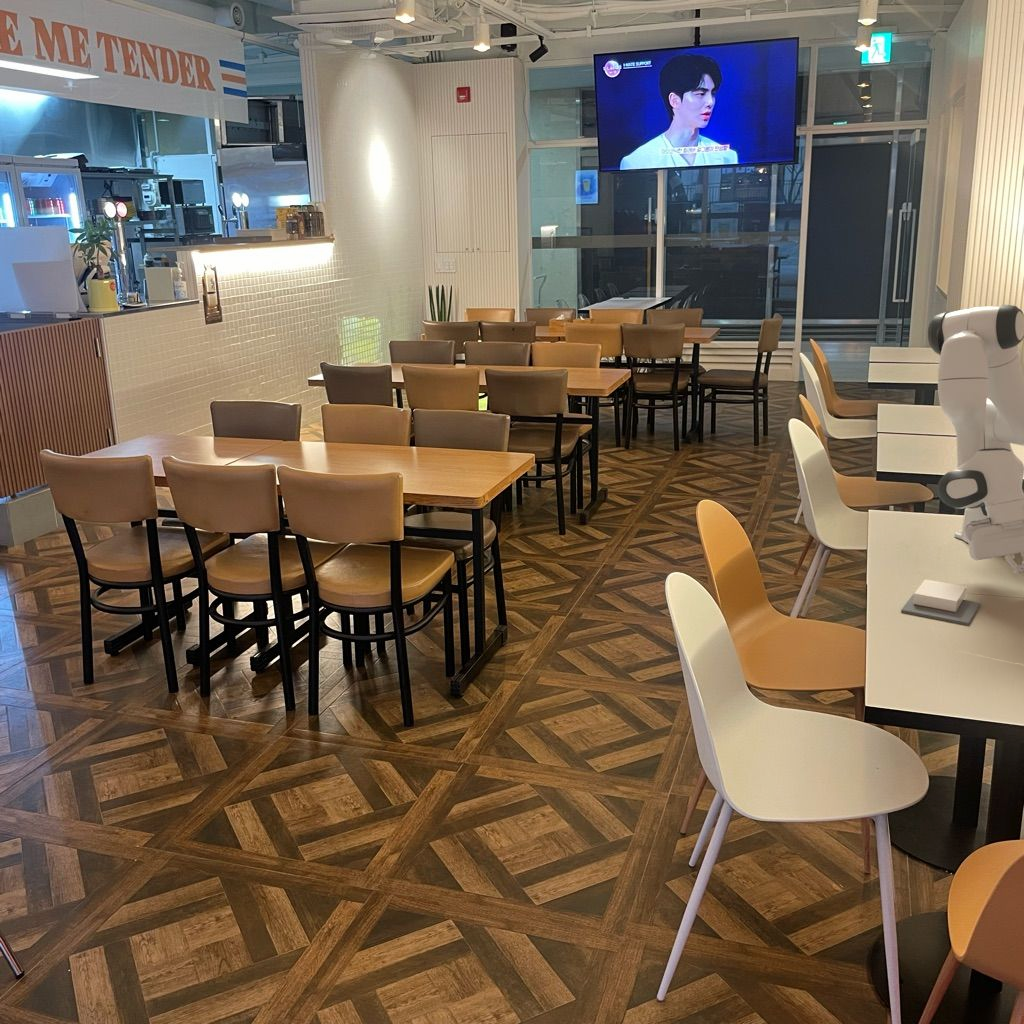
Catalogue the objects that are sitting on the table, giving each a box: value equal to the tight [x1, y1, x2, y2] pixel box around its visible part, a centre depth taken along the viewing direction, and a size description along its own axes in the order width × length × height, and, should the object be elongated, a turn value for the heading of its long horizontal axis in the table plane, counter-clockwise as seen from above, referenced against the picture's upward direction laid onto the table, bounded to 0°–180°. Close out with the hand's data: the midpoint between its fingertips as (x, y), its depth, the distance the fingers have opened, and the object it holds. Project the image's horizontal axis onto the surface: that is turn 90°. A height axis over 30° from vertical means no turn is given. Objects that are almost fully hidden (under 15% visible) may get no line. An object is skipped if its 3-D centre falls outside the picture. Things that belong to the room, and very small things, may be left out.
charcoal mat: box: [900, 590, 981, 626], centre depth 223 cm, size 14×14×1 cm
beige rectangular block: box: [913, 578, 967, 612], centre depth 225 cm, size 3×9×11 cm
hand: (1021, 572), depth 231 cm, fingers closed
